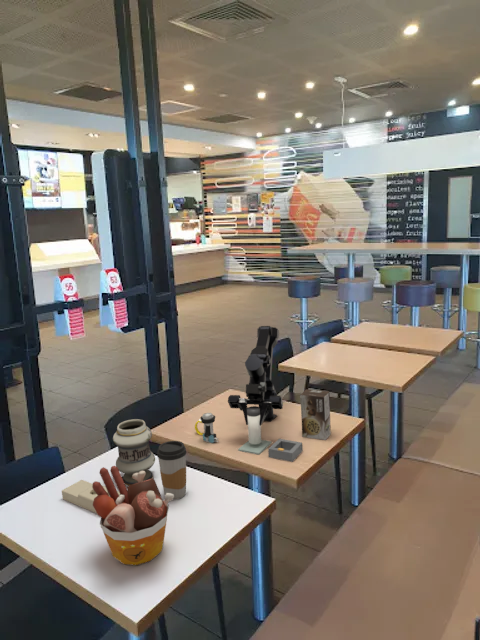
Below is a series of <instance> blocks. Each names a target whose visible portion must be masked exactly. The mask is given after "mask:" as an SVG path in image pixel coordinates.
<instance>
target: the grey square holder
mask: <svg viewBox="0 0 480 640" xmlns="http://www.w3.org/2000/svg"><path fill="white" fill-rule="evenodd" d="M303 447H304V446H303V442H302V441H296V440H295V441H294V440H290V439H284V438H278V439H277V440H276V441H274V443H272V444H271V446H269V447H267V448H268V449H267V453H268V458H269V459H276V460H280V461H287V462H291V463H293V462H295V460H296V459H297V457H299V456H300V455H301V454H302V452H303V449H304V448H303Z"/></svg>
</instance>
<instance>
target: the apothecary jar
mask: <svg viewBox="0 0 480 640" xmlns="http://www.w3.org/2000/svg"><path fill="white" fill-rule="evenodd" d="M116 427H117V428H116V429H117V430H116V431H115V433H114V434H113V437H112V442H113V443H114V444H115V445H116V446H117V450H118V457H117V459H116V460H115V466H116V467H117V468H118V470H119V472H120V473H121V474H123V475H121V477H122V479H123V481H124V484H125V486H127V487H128V486H130V485H132V484H135V483H139V482H138V481H137V480H135V479H133V478H132V475H133V474H134V473H139V472H140V471H145V472H146V475H145V477H144V479H143V481H145V480H148V479H152V478H154V474H153V472H152V471H151V470H150V469H151V468H152V467H153V466H154V464H155V462H156V457H155V456H156V455H155V454H154V452H152V451H151V448H150V441H151V439H152V437H153V434H152V430H151V429H150V428H149V427H148V426H147V425H146V422H145V421H144V420H143V419H138V418H134V419H128V420H124V421H122V422H120V423H118V425H117V426H116Z"/></svg>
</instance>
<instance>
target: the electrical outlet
mask: <svg viewBox="0 0 480 640" xmlns="http://www.w3.org/2000/svg"><path fill="white" fill-rule="evenodd" d="M101 485H102V486H103V488H104V489H105V491H106V492H107V494H108V495H109V493H108V491H107V489H106V487H105V485H103V484H101ZM92 486H93V482H89V481H87V480H84V479H80V480H79V481H76V482H75V483H73V484H71V485H69V486H67V487H66V488H64V489H62V490H61V495H62V499H63V500H64V501H66V502H68V503H72V504H73V505H76V506H78V507H80V508H83V509H85V510H88V511H90V512H92V513H95V514H97V512H96V510H95V509H94V507H93V501H94V498H95V497H97V496H98V495H97V494H96V492H95V491H94V490H93V488H92ZM117 492H118V494H119V496H120V493H119V490H117Z"/></svg>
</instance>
